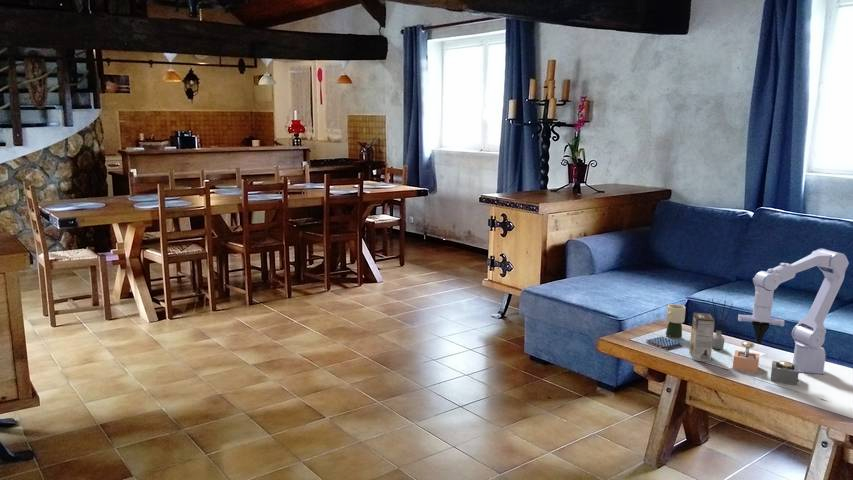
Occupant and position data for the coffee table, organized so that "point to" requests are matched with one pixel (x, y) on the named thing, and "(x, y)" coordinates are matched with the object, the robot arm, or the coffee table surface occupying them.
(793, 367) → the dark grey square socket
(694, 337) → the coffee box
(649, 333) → the coffee table surface
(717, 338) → the reed diffuser
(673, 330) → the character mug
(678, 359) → the coffee table surface
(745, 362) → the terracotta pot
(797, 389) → the coffee table surface
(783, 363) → the beige knobbed plunger
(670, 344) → the woven mat
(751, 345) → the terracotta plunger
